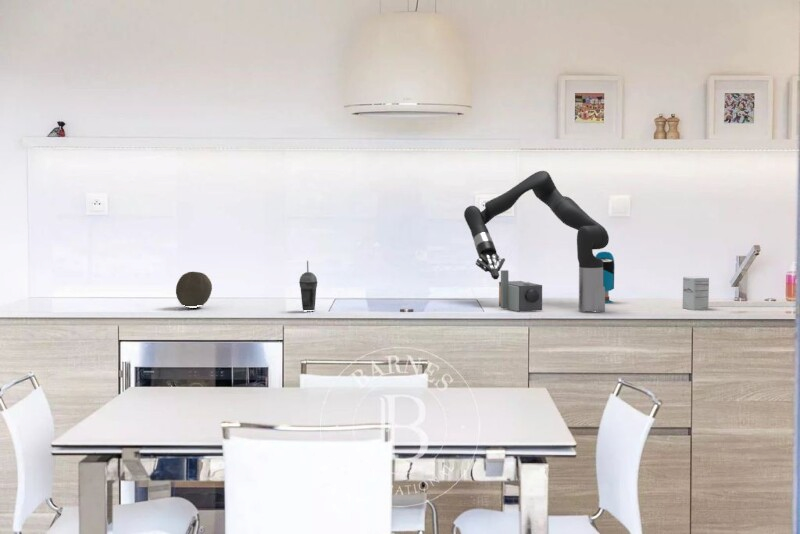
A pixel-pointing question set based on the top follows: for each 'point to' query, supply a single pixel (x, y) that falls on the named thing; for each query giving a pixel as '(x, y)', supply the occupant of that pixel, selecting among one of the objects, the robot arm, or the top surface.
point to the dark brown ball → (193, 289)
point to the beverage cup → (308, 290)
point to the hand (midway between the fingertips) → (496, 278)
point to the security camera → (607, 273)
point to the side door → (508, 293)
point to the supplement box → (695, 293)
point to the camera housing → (526, 295)
